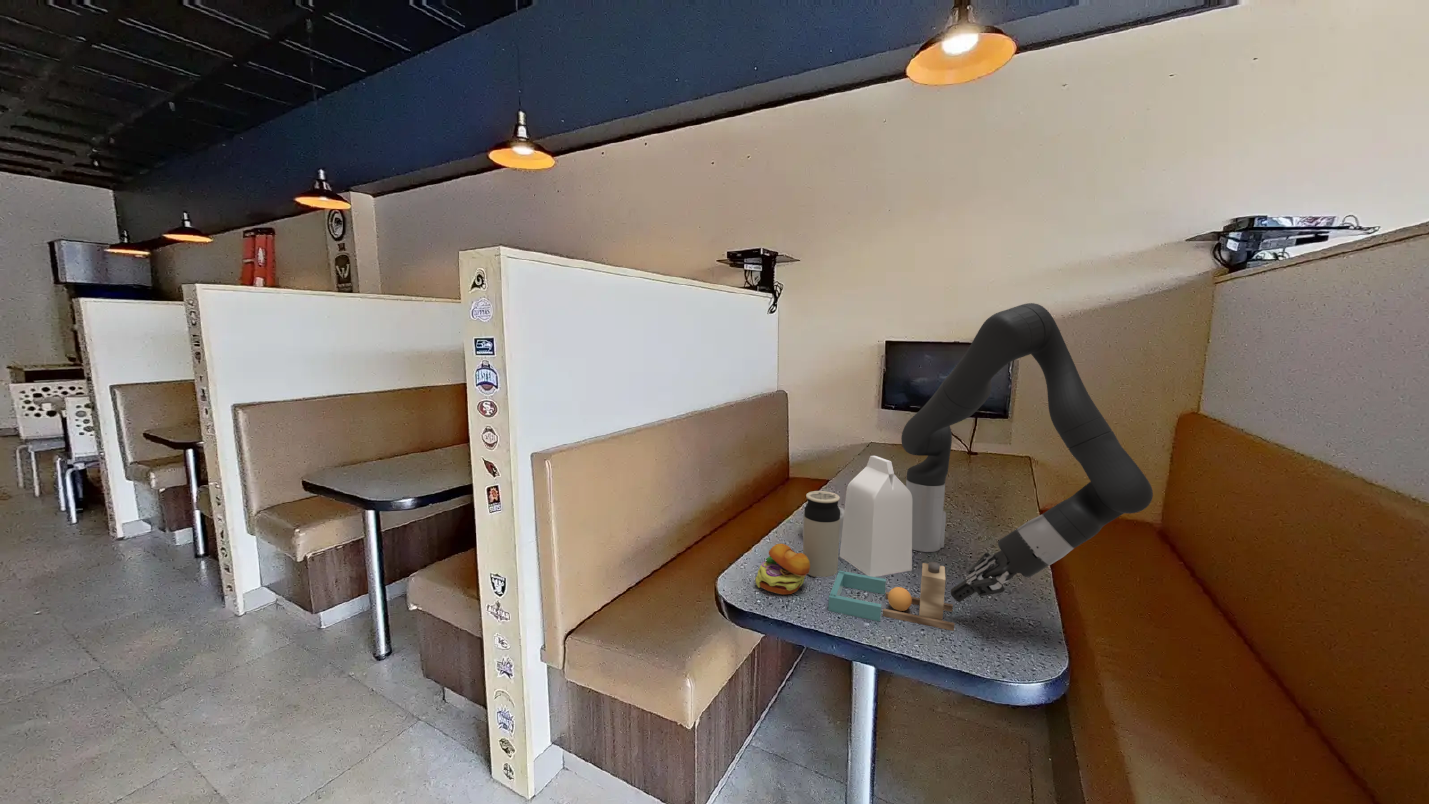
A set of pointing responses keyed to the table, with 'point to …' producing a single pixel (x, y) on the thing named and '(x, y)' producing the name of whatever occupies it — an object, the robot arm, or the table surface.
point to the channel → (920, 619)
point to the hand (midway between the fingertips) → (953, 596)
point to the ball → (899, 599)
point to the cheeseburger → (783, 570)
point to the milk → (877, 521)
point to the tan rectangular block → (932, 591)
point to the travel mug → (822, 533)
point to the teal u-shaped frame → (854, 605)
